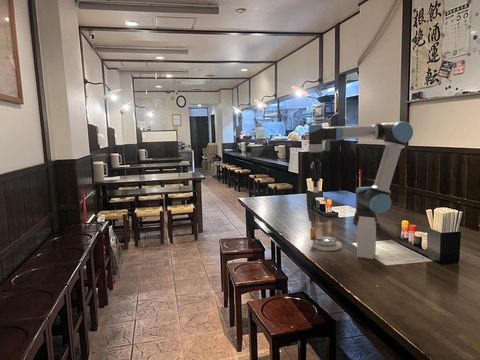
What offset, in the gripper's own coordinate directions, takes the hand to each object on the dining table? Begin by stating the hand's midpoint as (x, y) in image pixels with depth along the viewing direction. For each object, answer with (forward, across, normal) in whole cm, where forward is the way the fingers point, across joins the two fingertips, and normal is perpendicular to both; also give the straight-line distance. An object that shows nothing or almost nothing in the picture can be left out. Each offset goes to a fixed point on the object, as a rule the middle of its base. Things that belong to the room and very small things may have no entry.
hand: (316, 192), depth 201 cm
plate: (+24, +19, +13) cm, 33 cm away
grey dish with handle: (+23, +20, +12) cm, 32 cm away
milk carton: (+25, +24, +34) cm, 48 cm away
